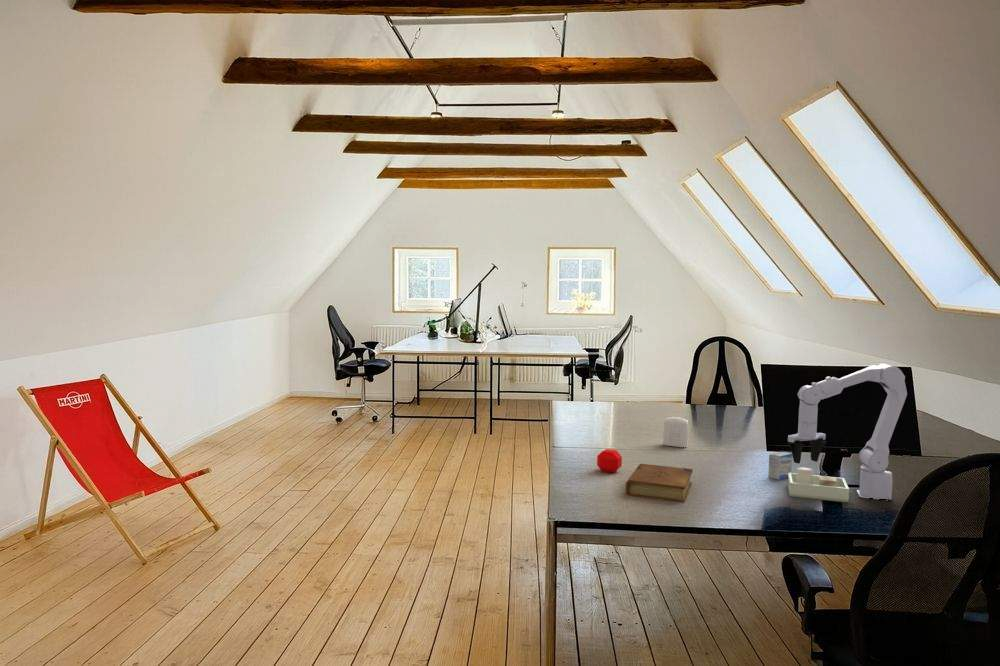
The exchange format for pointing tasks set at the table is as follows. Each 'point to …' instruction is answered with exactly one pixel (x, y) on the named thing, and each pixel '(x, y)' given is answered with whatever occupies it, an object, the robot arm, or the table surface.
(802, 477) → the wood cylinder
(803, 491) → the tote
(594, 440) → the table surface
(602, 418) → the table surface
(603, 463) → the ball
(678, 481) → the diary
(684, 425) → the white rounded block
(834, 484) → the oak cube
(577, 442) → the table surface
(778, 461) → the medicine box
